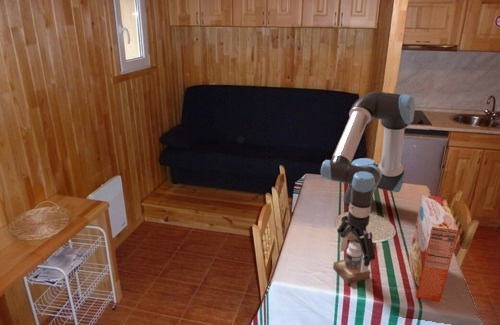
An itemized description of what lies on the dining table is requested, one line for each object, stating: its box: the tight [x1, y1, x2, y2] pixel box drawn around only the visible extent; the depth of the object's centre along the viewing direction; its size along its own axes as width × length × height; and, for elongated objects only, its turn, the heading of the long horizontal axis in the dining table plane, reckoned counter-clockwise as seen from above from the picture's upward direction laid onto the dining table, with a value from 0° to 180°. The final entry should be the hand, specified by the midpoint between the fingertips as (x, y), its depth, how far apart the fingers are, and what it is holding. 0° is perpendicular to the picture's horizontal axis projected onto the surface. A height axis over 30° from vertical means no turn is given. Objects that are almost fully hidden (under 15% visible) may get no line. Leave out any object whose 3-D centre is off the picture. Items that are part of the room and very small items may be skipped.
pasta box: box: [408, 194, 459, 302], centre depth 143 cm, size 23×8×30 cm, turn 166°
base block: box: [332, 258, 371, 285], centre depth 151 cm, size 10×10×3 cm
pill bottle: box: [345, 241, 363, 271], centre depth 149 cm, size 6×6×10 cm
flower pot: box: [339, 214, 357, 242], centre depth 173 cm, size 9×9×9 cm
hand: (352, 260), depth 150 cm, fingers open, 13 cm apart
